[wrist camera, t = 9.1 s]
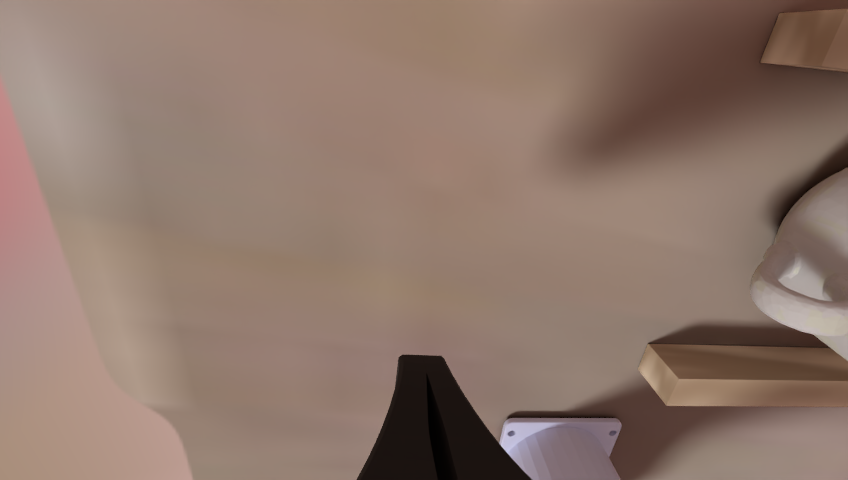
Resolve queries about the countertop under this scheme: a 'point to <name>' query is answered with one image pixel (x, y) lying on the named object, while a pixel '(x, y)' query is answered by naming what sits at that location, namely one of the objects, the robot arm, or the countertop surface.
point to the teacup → (810, 266)
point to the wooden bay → (757, 365)
